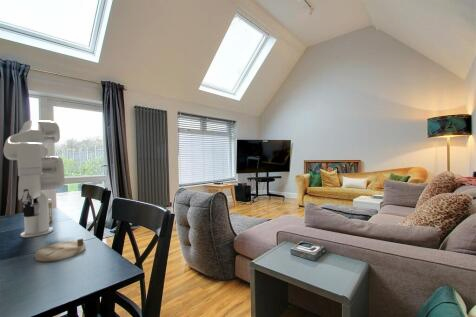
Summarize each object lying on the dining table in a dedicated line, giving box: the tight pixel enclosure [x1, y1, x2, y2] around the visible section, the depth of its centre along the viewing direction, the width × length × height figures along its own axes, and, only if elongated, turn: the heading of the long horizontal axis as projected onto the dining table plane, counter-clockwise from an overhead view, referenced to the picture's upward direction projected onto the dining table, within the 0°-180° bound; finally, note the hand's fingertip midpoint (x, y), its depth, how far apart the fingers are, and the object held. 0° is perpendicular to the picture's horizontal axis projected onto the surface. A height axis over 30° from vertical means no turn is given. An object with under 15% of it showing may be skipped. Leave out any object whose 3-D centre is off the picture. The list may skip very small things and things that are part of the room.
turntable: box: [34, 238, 86, 262], centre depth 93 cm, size 16×16×4 cm
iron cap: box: [30, 203, 40, 217], centre depth 97 cm, size 5×5×5 cm
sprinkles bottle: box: [48, 198, 53, 222], centre depth 137 cm, size 5×5×13 cm
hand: (31, 214), depth 97 cm, fingers closed on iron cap, 5 cm apart
